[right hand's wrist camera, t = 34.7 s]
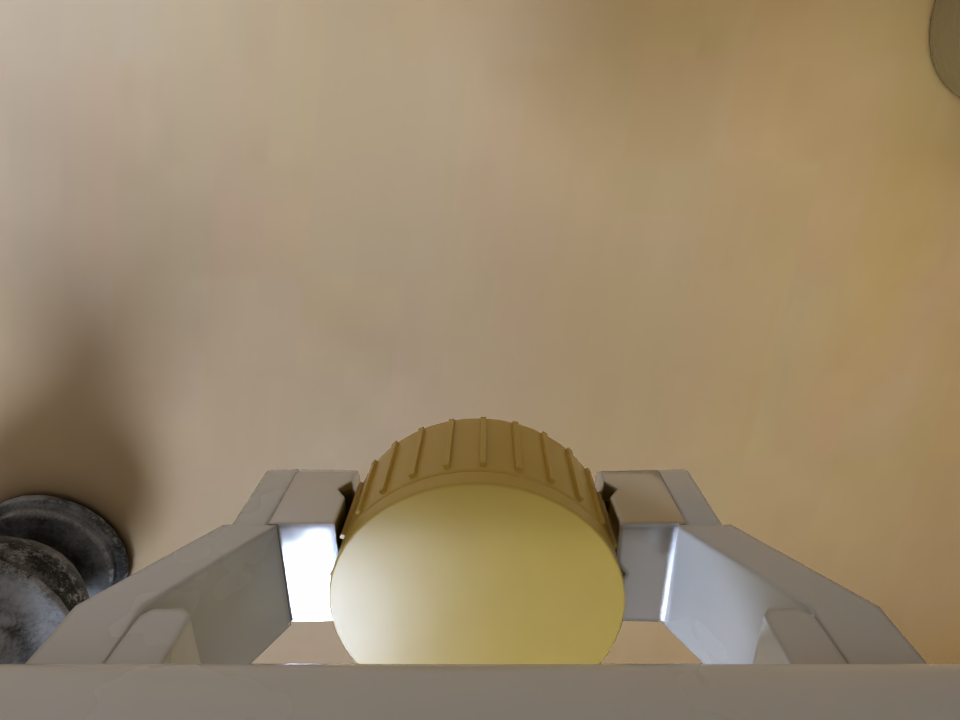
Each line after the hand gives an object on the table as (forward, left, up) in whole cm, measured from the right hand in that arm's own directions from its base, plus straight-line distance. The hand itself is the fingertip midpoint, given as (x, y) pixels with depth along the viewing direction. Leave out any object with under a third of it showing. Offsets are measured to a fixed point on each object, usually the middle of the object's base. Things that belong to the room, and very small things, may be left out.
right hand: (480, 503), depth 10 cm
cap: (0, 0, +2) cm, 2 cm away
